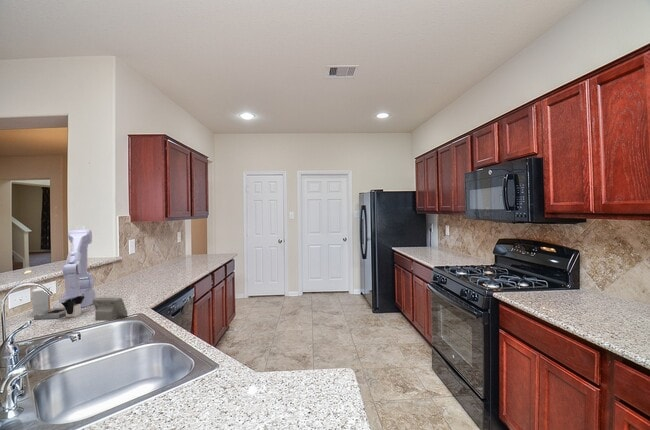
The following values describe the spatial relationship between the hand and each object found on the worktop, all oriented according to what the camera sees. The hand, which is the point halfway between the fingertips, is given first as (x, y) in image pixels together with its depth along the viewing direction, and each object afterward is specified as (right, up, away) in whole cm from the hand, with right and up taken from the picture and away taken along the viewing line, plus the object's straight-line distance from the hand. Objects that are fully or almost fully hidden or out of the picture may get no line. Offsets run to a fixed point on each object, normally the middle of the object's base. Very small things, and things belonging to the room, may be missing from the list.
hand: (73, 312), depth 154 cm
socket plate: (-10, -2, +1) cm, 10 cm away
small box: (-22, -2, +6) cm, 23 cm away
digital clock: (+23, -1, -4) cm, 23 cm away
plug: (0, -2, 0) cm, 2 cm away
